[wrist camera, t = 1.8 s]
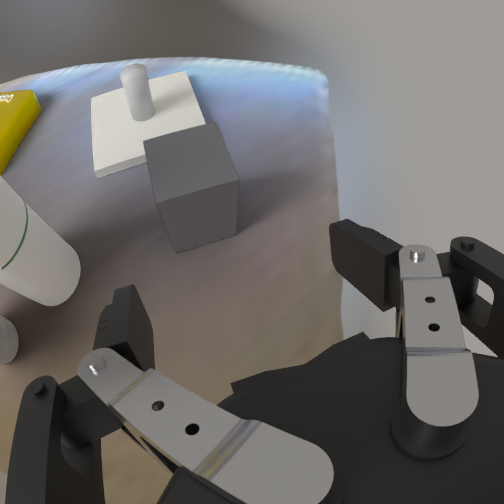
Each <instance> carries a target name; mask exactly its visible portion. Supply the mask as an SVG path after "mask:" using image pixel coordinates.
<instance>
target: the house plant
mask: <svg viewBox="0 0 504 504" xmlns="http://www.w3.org/2000/svg"><path fill="white" fill-rule="evenodd" d="M18 344H19V340H18V334H17V331H16V328H15V327H14V325H13V324H12V323H11V322H10V321H9V320H7V319H6V318H4V317H3V316H1V315H0V365H2V364H8V363H10V362H11V361H12V360H13V359H14V358H15V356H16V354H17V351H18Z"/></svg>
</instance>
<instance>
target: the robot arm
mask: <svg viewBox="0 0 504 504" xmlns="http://www.w3.org/2000/svg"><path fill="white" fill-rule="evenodd" d="M329 234H330V243H331V254H332V261H333V265H334V267H335V269H336V271H337V272H338V273H339V274H340V275H342V276H343V277H344V278H345V279H346V280H348V281H349V282H350V283H351V284H352V285H353V286H354V287H355V288H357V289H358V290H359V291H360V292H361V293H362V294H364V295H365V296H366V297H367V298H368V299H369V300H370V301H371V302H373V303H374V304H375V305H376V306H377V307H378V308H379V309H381V310H382V311H383V312H384V311H387V310H389V309H391V308H393V307H396V327H395V330H396V331H395V337H385V338H376V339H371V340H370V339H369V338H368V337H367V336H366V335H365V333H364V332H361V333H359V334H357V335H355V336H352V337H350V338H348V339H346V340H343V341H341V342H339V343H336V344H334V345H332V346H331V347H330V348H328V349H327V350H325V351H324V352H322V353H321V354H319V355H318V356H316V357H315V358H313V359H312V360H310V361H309V362H307V363H306V364H303V365H299V366H294V367H288V368H283V369H277V370H271V371H265V372H262V373H259V374H256V375H254V376H251V377H248V378H245V379H242V380H239V381H236V382H233V383H231V386H232V389H233V392H234V394H232V395H230V396H228V397H227V398H226V399H224V400H223V401H221V402H220V403H219V404H218V405H217V406H216V405H214V404H212V403H210V402H208V401H207V400H205V399H203V398H201V397H199V396H198V395H196V394H194V393H192V392H191V391H189V390H187V389H186V388H184V387H182V386H180V385H179V384H177V383H175V382H174V381H172V380H171V379H169V378H167V377H166V376H164V375H162V374H161V373H159V372H158V371H156V370H155V362H154V344H153V330H152V326H151V322H150V319H149V317H148V315H147V312H146V310H145V308H144V306H143V303H142V301H141V299H140V296H139V294H138V292H137V289H136V287H135V286H134V285H133V284H132V285H129V286H126V287H123V288H119V289H116V290H115V292H114V298H113V303H112V304H110V305H107V306H106V307H105V308H104V310H103V311H102V313H101V314H100V318H99V322H98V323H99V324H98V327H97V332H96V336H95V342H94V347H93V351H91V352H90V353H88V354H87V355H86V356H84V357H83V358H82V360H81V361H80V362H79V364H78V367H77V373H78V375H77V376H75V377H73V378H71V379H69V380H67V381H65V382H63V383H61V384H58V383H57V382H56V380H55V379H54V378H53V377H51V376H41V377H39V378H37V379H35V380H34V381H32V382H31V383H30V384H29V385H28V386H27V387H26V389H25V391H24V393H23V396H22V400H21V404H20V409H19V413H18V418H17V422H16V427H15V432H14V437H13V443H12V449H11V455H10V462H9V469H8V477H7V486H6V498H5V504H105V497H104V487H103V475H102V459H101V438H102V437H104V436H106V435H108V434H110V433H112V432H114V431H116V430H118V429H121V431H122V432H124V433H125V434H126V435H127V436H128V437H129V438H130V439H131V440H132V441H133V442H134V443H135V444H137V445H138V446H139V447H140V448H141V449H142V450H143V451H145V452H146V453H147V454H148V455H149V456H150V457H152V458H153V459H154V460H155V461H156V462H157V463H158V464H159V465H160V466H162V467H163V468H164V469H165V470H166V471H167V472H168V473H169V474H171V475H172V478H171V479H170V481H169V483H168V485H167V486H166V488H165V490H164V491H163V493H162V495H161V497H160V498H159V500H158V502H157V503H156V504H504V254H502V253H500V252H499V251H497V250H495V249H493V248H492V247H490V246H488V245H486V244H485V243H483V242H481V241H479V240H477V239H474V238H471V237H457V238H454V239H453V240H452V241H451V246H450V252H446V253H440V254H436V253H435V251H434V250H433V249H431V248H429V247H427V246H424V245H409V246H406V247H403V246H402V245H400V244H398V243H396V242H395V241H393V240H391V239H389V238H387V237H386V236H384V235H382V234H380V233H379V232H377V231H375V230H373V229H370V228H366V227H362V226H360V225H358V224H356V223H354V222H353V221H350V220H349V219H345V220H342V221H338V222H335V223H331V224H330V226H329ZM479 279H480V280H482V281H483V282H485V283H486V284H487V285H489V286H490V287H491V288H492V290H493V293H494V301H493V305H491V304H490V303H488V302H487V301H486V300H484V299H483V298H482V297H480V296H479V295H478V294H476V292H477V287H478V281H479ZM461 324H462V325H464V326H465V327H466V328H467V329H468V330H469V331H470V332H471V333H473V334H474V335H475V336H476V337H477V338H478V339H479V340H480V341H482V342H483V343H484V344H485V345H486V346H487V347H488V348H489V349H490V350H492V351H493V352H494V353H495V354H496V355H497V356H498V357H494V356H488V355H482V354H477V353H472V352H471V351H470V350H468V349H467V348H466V345H465V340H464V335H463V330H462V326H461Z"/></svg>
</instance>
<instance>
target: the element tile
mask: <svg viewBox="0 0 504 504" xmlns="http://www.w3.org/2000/svg"><path fill="white" fill-rule="evenodd" d="M41 109H42V108H41V105H40V103H39V101H38V100H37V98H36V96H35V94H34V92H33V91H32V90H21V91H11V92H2V93H0V175H1V174H2V173H3V171H4V170H5V168H6V166H7V164H8V163H9V161H10V159H11V157H12V156H13V154H14V152H15V151H16V149H17V147H18V146H19V144H20V143H21V141H22V139H23V138H24V136H25V135H26V133H27V132H28V130H29V129H30V127H31V126H32V124H33V123H34V121H35V120H36V118H37V117H38V115H39V114H40V112H41Z"/></svg>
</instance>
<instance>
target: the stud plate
mask: <svg viewBox="0 0 504 504" xmlns="http://www.w3.org/2000/svg"><path fill="white" fill-rule="evenodd" d="M120 78H121V81H122V85H123V88H119V89H116V90H113V91H110V92H107V93H104V94H101V95H98V96H96V97H93V98H91V122H92V146H93V162H94V172H95V173H96V175H97V177H98V178H101V177H104V176H107V175H109V174H112V173H115V172H118V171H121V170H124V169H127V168H130V167H134V166H137V165H140V164H143V163H146V162H147V160H146V155H145V150H144V145H143V141H144V140H148V139H151V138H155V137H158V136H162V135H165V134H169V133H172V132H176V131H180V130H184V129H188V128H191V127H195V126H200V125H204V124H206V123H205V120H204V117H203V115H202V112H201V109H200V107H199V104H198V102H197V99H196V96H195V94H194V91H193V89H192V86H191V83H190V81H189V78H188V76H187V73H186V71H182V72H178V73H174V74H169V75H165V76H161V77H158V78H154V79H150V80H148V77H147V72H146V67H145V66H144V65H142V64H133V65H130V66H127V67H126V68H124V69H123V70H122V71H121V72H120Z"/></svg>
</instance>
